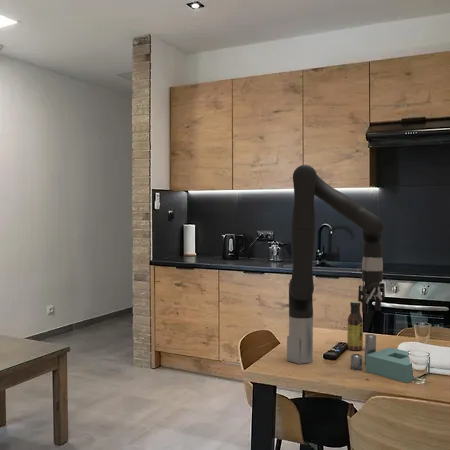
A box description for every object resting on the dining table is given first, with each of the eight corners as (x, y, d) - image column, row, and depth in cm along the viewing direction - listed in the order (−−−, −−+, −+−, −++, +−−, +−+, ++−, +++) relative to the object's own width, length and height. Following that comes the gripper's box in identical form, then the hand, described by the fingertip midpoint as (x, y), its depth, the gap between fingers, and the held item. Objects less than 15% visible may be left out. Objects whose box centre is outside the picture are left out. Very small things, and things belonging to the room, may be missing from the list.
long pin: (371, 366, 190) (372, 337, 190) (362, 363, 193) (363, 335, 193) (377, 364, 193) (378, 335, 193) (368, 361, 196) (369, 333, 196)
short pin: (357, 371, 185) (357, 357, 184) (348, 368, 188) (348, 355, 187) (364, 369, 187) (364, 355, 187) (354, 366, 190) (355, 353, 190)
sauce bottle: (363, 351, 210) (363, 303, 209) (347, 350, 211) (348, 303, 211) (362, 347, 216) (362, 301, 216) (347, 346, 218) (347, 300, 217)
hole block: (406, 382, 172) (406, 365, 172) (365, 371, 184) (365, 354, 184) (429, 373, 183) (430, 356, 182) (389, 362, 195) (390, 347, 195)
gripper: (374, 266, 200) (373, 307, 200) (352, 269, 190) (352, 312, 191) (391, 268, 194) (390, 310, 195) (370, 271, 185) (369, 315, 185)
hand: (371, 311), depth 193 cm, fingers open, 8 cm apart
